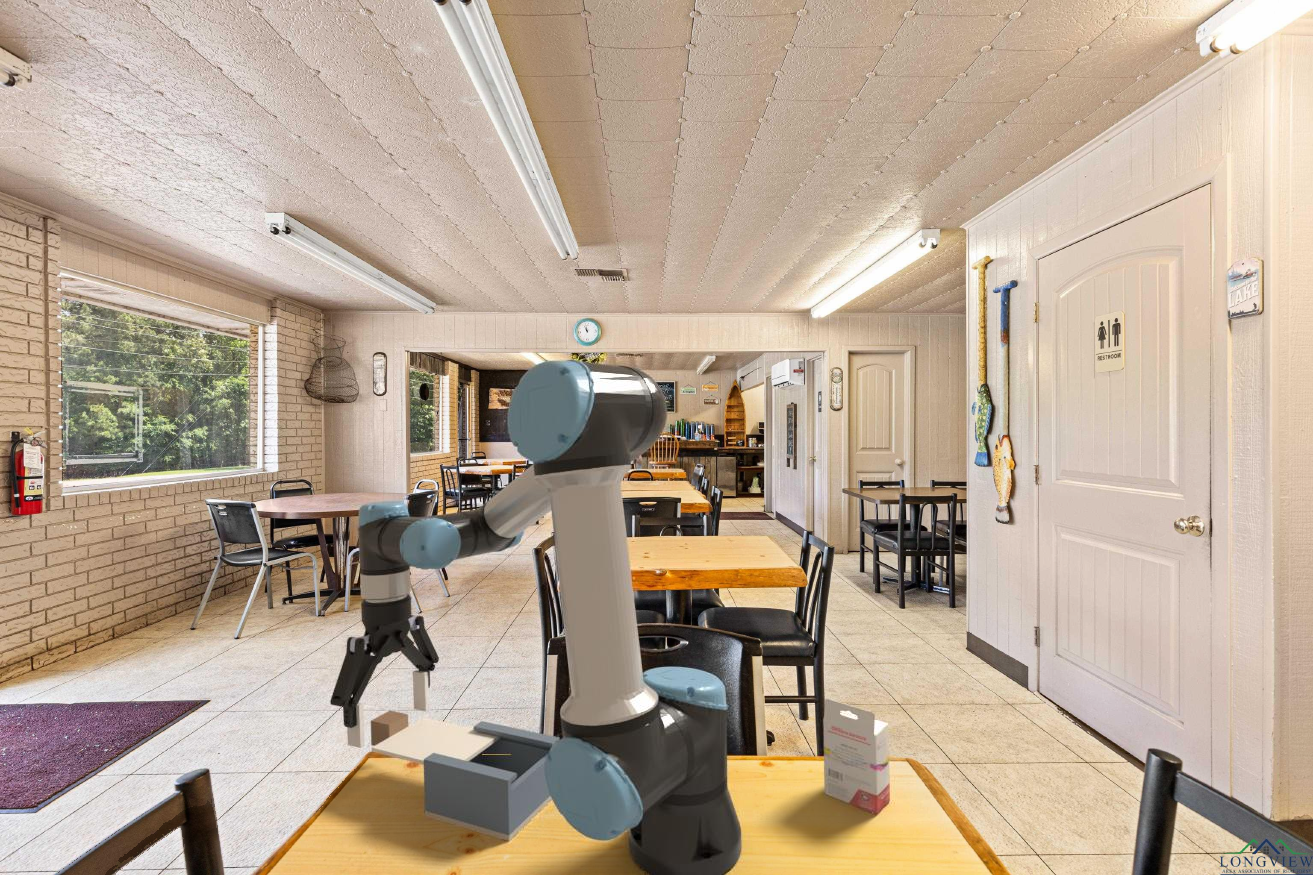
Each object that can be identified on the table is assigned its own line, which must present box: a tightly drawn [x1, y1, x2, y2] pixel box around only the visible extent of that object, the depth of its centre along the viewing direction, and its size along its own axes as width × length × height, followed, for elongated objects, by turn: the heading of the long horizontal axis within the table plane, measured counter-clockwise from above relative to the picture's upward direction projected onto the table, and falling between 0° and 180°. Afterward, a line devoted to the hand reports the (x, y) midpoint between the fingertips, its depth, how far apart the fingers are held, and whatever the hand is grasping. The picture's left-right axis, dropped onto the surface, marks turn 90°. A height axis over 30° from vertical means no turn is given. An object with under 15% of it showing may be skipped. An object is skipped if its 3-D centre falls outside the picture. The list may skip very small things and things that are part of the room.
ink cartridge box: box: [822, 697, 891, 815], centre depth 96 cm, size 9×5×15 cm, turn 47°
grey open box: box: [423, 720, 561, 842], centre depth 96 cm, size 15×13×8 cm
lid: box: [370, 710, 501, 766], centre depth 102 cm, size 20×11×4 cm, turn 66°
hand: (390, 726), depth 105 cm, fingers open, 13 cm apart
